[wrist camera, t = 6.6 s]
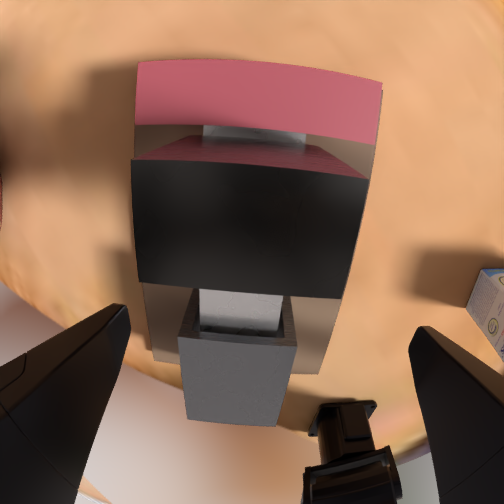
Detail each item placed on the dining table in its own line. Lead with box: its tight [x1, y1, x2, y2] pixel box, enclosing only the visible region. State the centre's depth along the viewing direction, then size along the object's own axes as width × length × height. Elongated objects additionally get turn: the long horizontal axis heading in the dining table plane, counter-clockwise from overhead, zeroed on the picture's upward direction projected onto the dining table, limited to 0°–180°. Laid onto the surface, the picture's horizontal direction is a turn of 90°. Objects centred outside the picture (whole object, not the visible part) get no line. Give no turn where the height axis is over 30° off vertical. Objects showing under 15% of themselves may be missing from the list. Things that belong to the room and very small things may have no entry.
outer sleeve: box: [177, 288, 297, 426], centre depth 19 cm, size 8×6×6 cm
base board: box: [134, 90, 383, 374], centre depth 19 cm, size 22×14×1 cm, turn 175°
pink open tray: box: [135, 59, 382, 145], centre depth 12 cm, size 2×9×6 cm, turn 85°
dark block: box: [131, 125, 369, 338], centre depth 12 cm, size 14×5×10 cm, turn 175°
